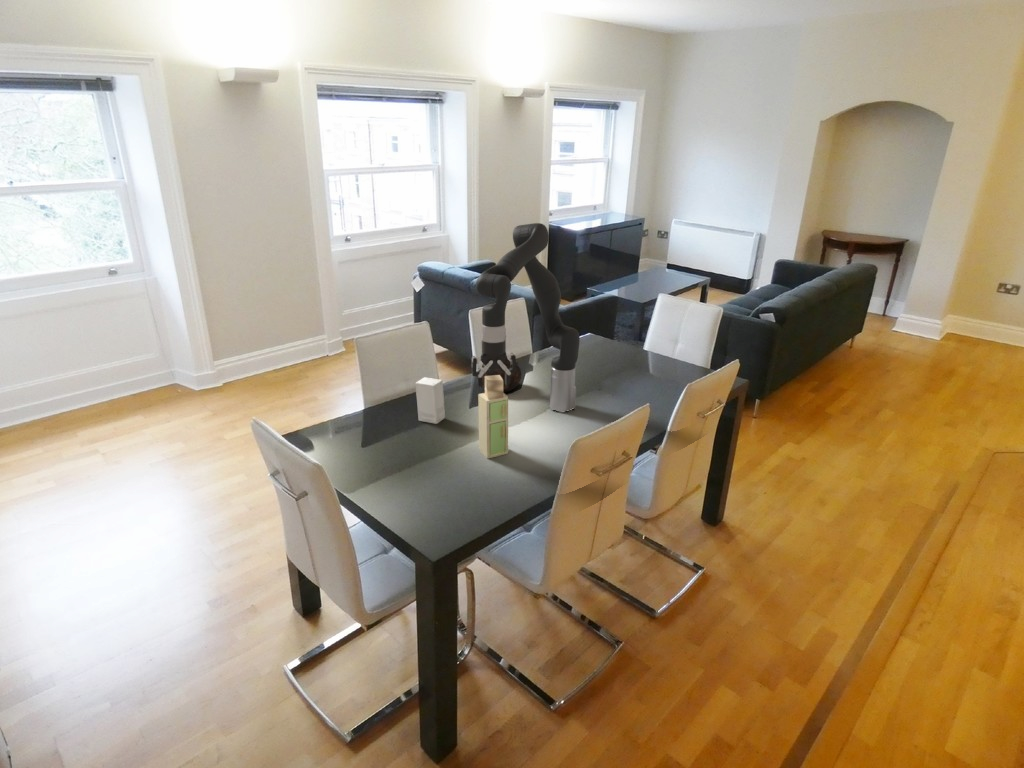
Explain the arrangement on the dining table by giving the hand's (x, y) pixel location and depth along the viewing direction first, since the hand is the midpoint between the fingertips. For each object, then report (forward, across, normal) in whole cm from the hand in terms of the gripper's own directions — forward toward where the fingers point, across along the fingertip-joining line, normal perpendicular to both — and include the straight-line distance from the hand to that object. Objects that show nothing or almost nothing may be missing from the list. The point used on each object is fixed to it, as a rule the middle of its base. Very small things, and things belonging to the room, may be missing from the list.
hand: (493, 386), depth 200 cm
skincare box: (+24, +17, -31) cm, 43 cm away
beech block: (+3, 0, 0) cm, 3 cm away
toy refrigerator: (+24, 0, 0) cm, 24 cm away
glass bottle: (+24, -15, -55) cm, 62 cm away
